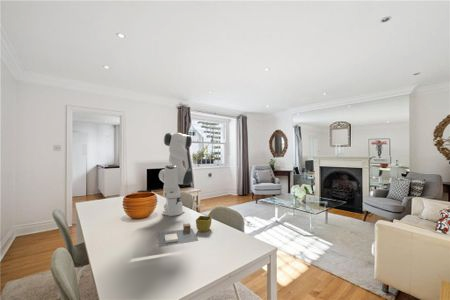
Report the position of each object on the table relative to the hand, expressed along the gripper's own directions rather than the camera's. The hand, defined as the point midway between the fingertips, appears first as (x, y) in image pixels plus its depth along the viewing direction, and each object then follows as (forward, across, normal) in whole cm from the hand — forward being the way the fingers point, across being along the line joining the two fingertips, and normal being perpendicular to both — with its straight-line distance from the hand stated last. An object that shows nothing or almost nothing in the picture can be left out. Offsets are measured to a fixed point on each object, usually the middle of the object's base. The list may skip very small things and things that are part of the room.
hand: (170, 214), depth 119 cm
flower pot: (+15, -6, +22) cm, 28 cm away
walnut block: (+14, -7, +11) cm, 19 cm away
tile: (+13, -2, 0) cm, 13 cm away
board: (+15, 0, +4) cm, 16 cm away
